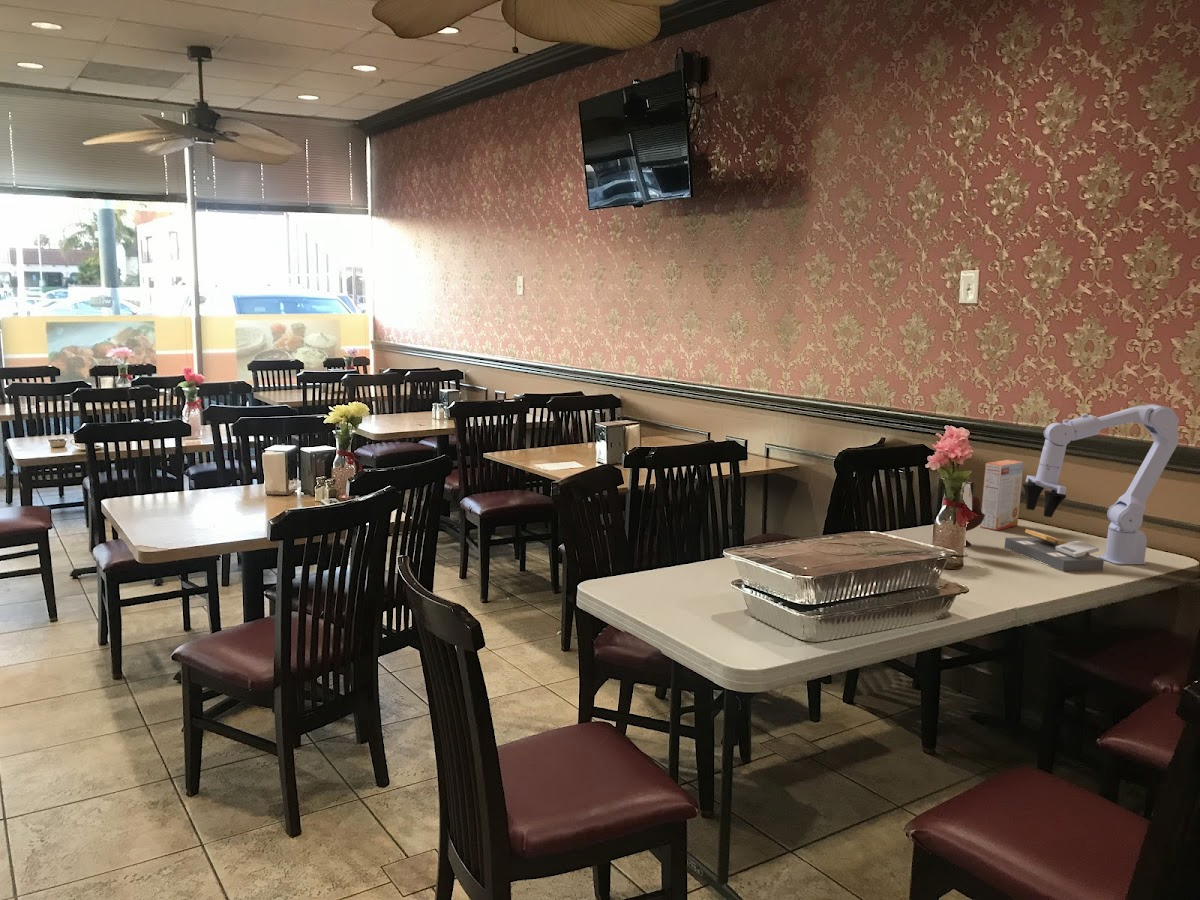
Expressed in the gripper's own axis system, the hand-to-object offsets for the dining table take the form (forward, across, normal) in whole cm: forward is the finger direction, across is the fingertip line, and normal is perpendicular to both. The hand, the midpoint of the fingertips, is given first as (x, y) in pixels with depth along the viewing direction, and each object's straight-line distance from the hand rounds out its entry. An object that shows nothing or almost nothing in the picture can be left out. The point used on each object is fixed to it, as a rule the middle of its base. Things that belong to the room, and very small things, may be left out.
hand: (1038, 513), depth 266 cm
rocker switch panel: (+11, +6, +5) cm, 13 cm away
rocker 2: (+7, +13, +4) cm, 15 cm away
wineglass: (+15, -1, -23) cm, 27 cm away
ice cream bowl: (+14, -11, -14) cm, 23 cm away
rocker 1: (+7, 0, +4) cm, 8 cm away
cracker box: (+12, -33, +13) cm, 37 cm away
